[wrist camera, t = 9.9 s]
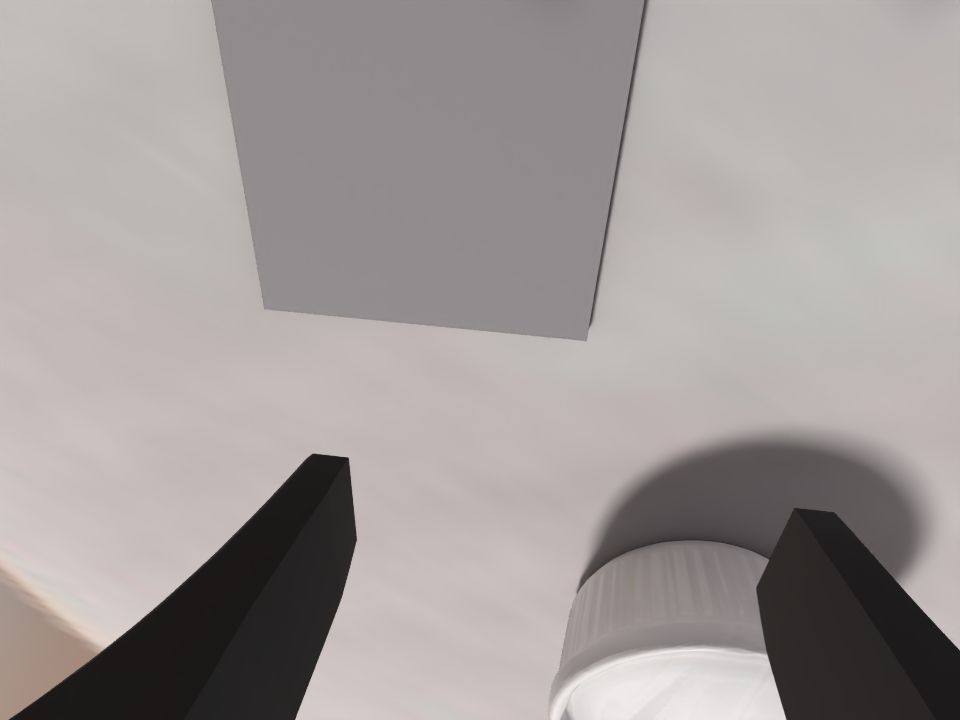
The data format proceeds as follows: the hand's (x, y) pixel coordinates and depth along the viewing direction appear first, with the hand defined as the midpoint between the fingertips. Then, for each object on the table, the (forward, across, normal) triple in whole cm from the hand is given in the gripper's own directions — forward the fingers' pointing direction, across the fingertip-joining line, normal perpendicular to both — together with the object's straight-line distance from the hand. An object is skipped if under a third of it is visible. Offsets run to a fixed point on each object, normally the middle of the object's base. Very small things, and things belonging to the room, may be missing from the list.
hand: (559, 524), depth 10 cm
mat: (+9, +4, -3) cm, 11 cm away
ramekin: (+10, -7, +15) cm, 19 cm away
